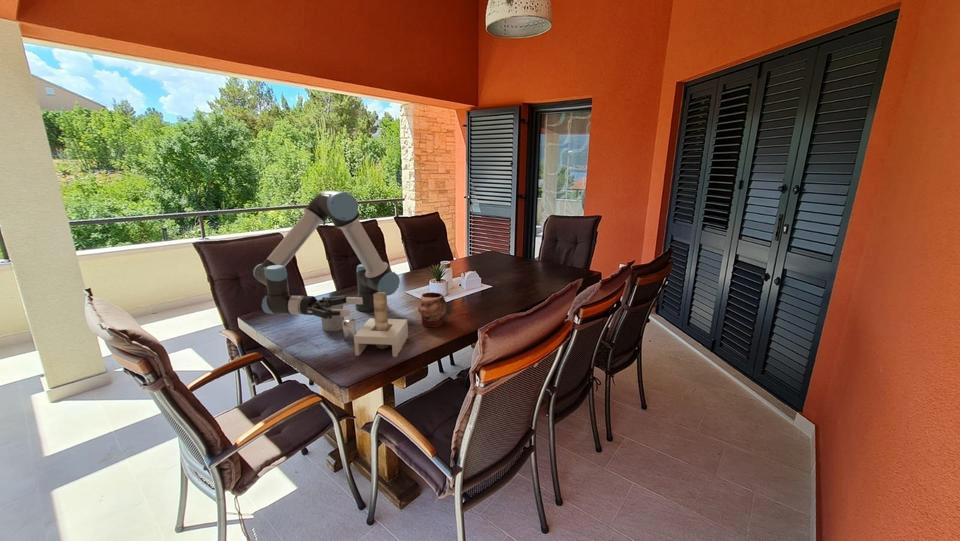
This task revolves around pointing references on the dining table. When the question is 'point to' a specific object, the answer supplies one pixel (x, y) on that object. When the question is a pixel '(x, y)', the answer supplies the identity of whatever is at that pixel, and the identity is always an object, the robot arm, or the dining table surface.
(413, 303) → the dining table surface
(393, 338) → the miniature square stool
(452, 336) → the dining table surface
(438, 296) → the decorative planter
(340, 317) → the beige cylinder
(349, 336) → the glass salt shaker
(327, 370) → the dining table surface
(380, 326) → the long pin
